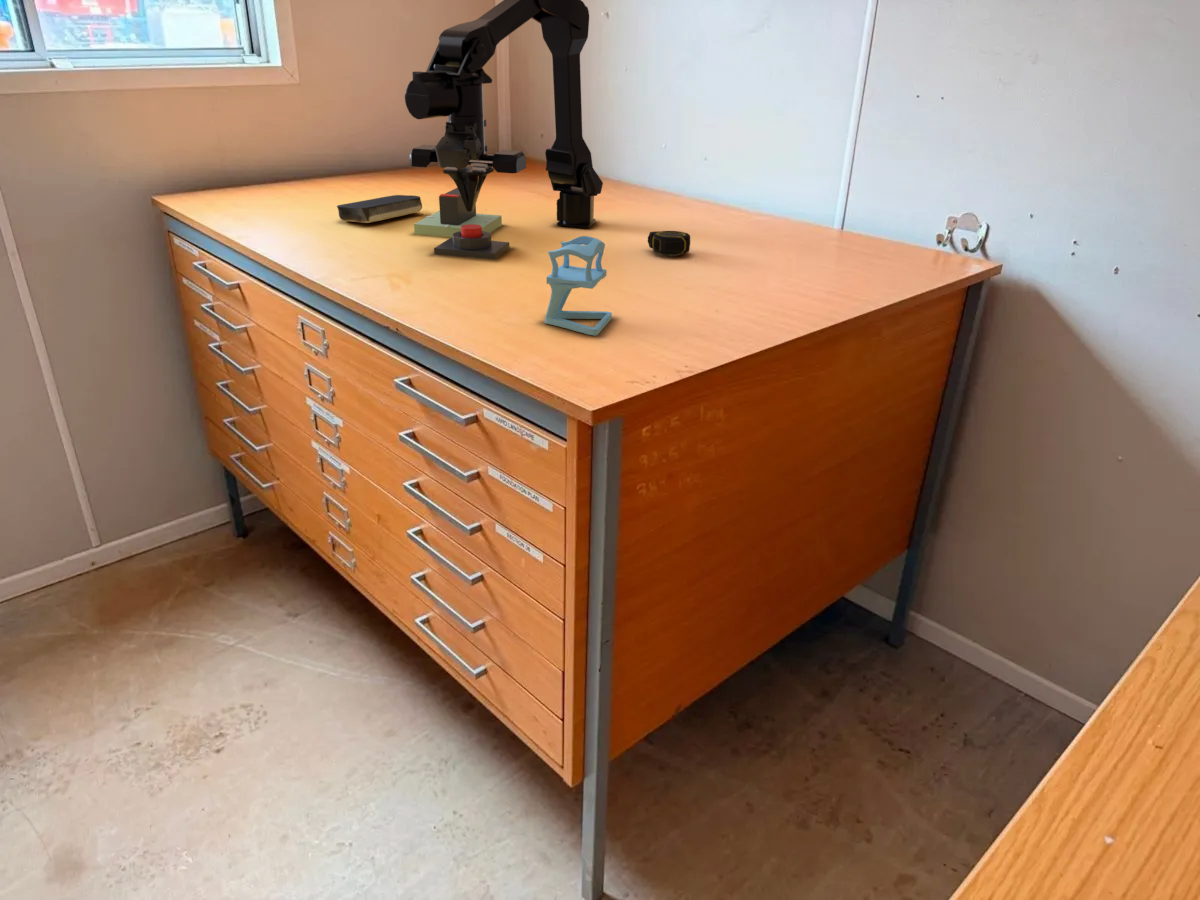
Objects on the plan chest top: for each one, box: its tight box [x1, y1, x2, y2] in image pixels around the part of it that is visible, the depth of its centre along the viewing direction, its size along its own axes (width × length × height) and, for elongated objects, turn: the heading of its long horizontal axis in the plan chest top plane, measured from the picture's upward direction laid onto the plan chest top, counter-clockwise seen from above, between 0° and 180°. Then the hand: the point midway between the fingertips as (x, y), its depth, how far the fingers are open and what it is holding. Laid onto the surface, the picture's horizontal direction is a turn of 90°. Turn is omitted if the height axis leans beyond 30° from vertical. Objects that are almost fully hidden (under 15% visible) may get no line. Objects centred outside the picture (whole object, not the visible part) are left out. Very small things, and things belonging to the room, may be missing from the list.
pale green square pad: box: [413, 210, 503, 238], centre depth 166 cm, size 13×13×2 cm
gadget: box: [438, 187, 477, 225], centre depth 164 cm, size 9×4×5 cm, turn 166°
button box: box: [433, 231, 511, 261], centre depth 152 cm, size 11×8×3 cm
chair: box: [544, 235, 613, 337], centre depth 118 cm, size 8×8×12 cm
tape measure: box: [647, 230, 691, 257], centre depth 154 cm, size 7×7×4 cm
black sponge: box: [336, 194, 423, 224], centre depth 173 cm, size 16×8×4 cm, turn 143°
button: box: [461, 224, 482, 238], centre depth 151 cm, size 4×4×2 cm
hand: (470, 211), depth 149 cm, fingers closed
